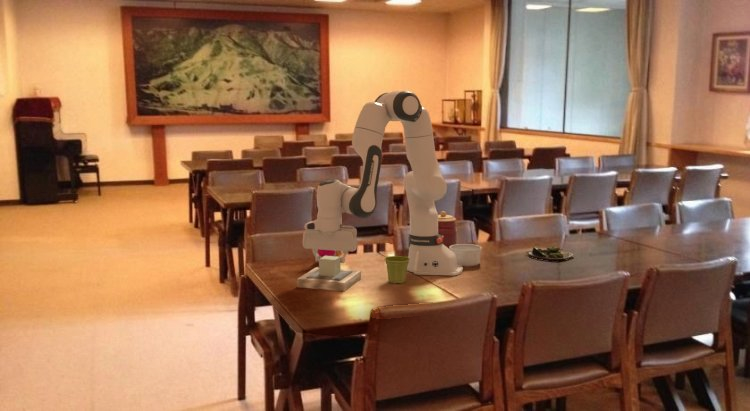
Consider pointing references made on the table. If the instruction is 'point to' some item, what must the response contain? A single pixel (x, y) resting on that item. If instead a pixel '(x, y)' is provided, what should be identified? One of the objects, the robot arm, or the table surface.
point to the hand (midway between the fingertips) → (330, 261)
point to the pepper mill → (326, 252)
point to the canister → (447, 229)
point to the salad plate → (549, 254)
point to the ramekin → (467, 254)
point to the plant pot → (397, 268)
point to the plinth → (329, 280)
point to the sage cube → (329, 266)
